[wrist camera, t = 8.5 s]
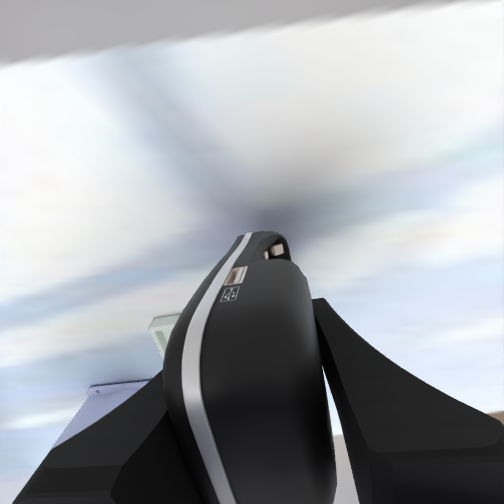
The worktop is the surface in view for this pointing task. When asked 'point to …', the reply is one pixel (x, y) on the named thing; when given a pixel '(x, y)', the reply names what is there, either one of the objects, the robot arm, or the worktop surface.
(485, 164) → the worktop surface
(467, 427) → the robot arm
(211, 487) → the battery charger
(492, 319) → the worktop surface
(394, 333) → the worktop surface
